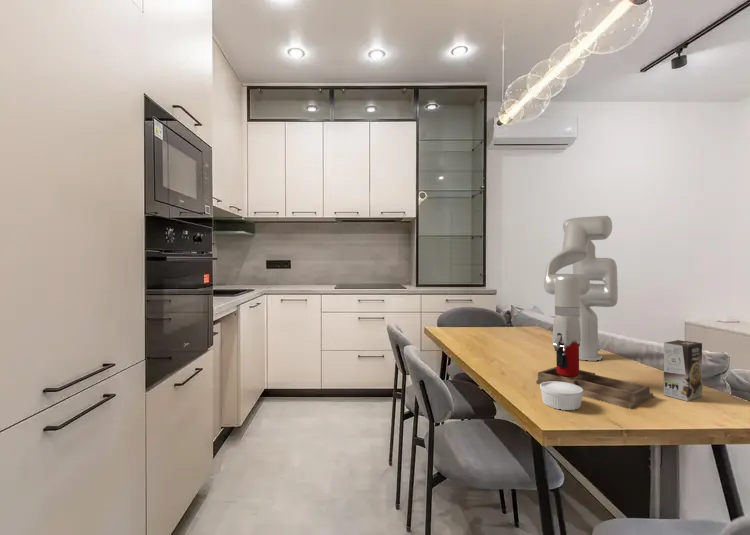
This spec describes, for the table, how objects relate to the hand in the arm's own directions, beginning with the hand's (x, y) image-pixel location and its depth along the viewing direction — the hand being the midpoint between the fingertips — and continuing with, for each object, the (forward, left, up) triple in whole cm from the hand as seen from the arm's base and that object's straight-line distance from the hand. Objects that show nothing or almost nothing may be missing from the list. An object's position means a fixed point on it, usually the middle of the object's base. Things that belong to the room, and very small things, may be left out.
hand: (567, 364), depth 124 cm
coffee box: (-16, +26, -7) cm, 32 cm away
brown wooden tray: (0, +7, -6) cm, 10 cm away
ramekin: (+20, +8, -7) cm, 23 cm away
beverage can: (0, 0, -4) cm, 4 cm away
